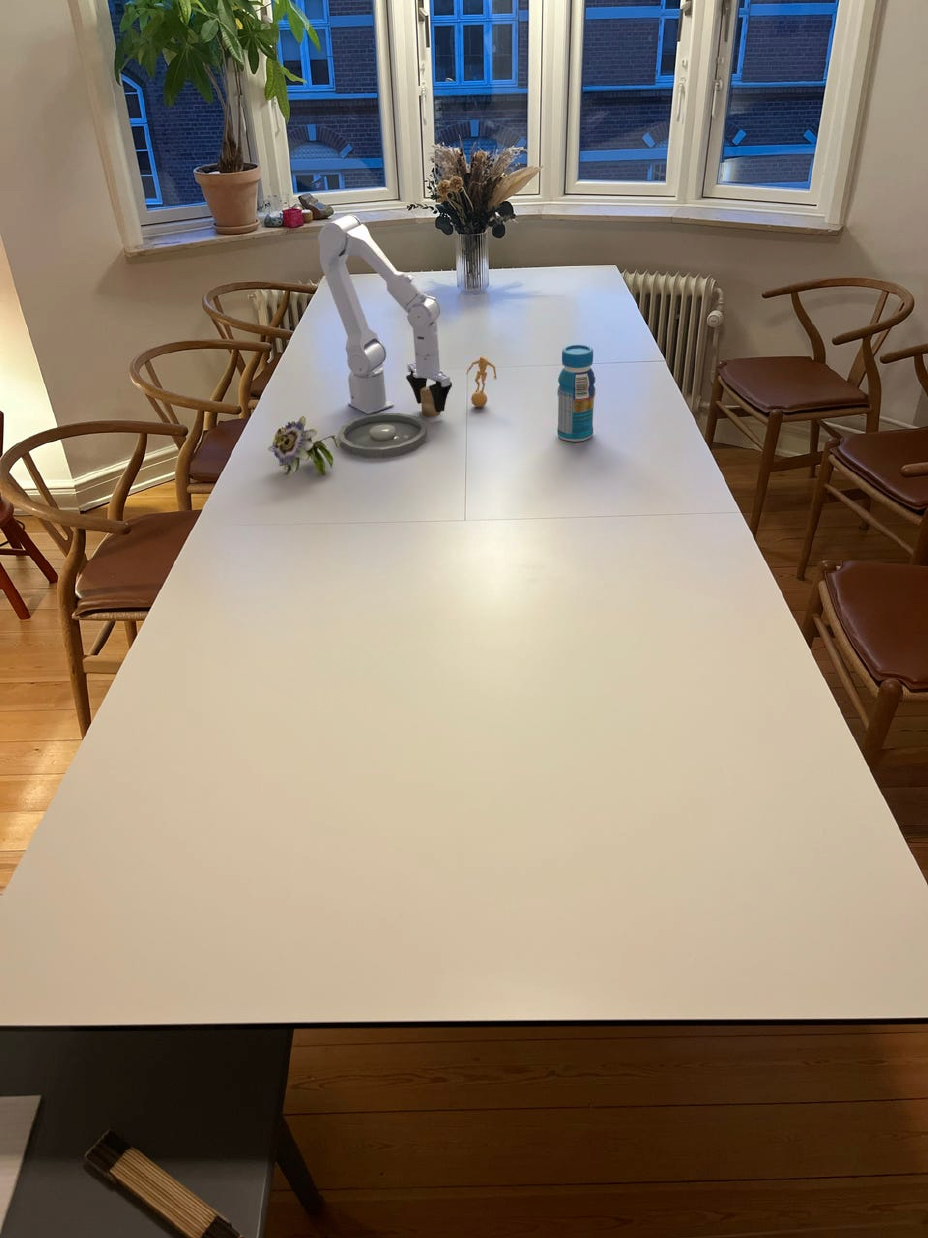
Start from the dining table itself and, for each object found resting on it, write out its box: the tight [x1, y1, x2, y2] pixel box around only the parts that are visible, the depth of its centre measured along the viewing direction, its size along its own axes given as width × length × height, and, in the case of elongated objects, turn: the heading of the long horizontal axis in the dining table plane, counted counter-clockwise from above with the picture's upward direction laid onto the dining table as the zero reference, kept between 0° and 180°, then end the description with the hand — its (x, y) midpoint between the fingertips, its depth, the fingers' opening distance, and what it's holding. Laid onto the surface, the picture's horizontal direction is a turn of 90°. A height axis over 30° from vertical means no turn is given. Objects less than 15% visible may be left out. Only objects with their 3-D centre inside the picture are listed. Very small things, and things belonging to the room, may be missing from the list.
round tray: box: [337, 412, 429, 459], centre depth 204 cm, size 20×20×2 cm
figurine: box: [466, 356, 497, 408], centre depth 215 cm, size 8×6×12 cm
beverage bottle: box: [556, 344, 596, 443], centre depth 195 cm, size 8×8×20 cm
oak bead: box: [420, 386, 441, 418], centre depth 214 cm, size 4×4×6 cm
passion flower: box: [268, 415, 340, 475], centre depth 192 cm, size 13×12×14 cm
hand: (430, 406), depth 215 cm, fingers open, 7 cm apart
